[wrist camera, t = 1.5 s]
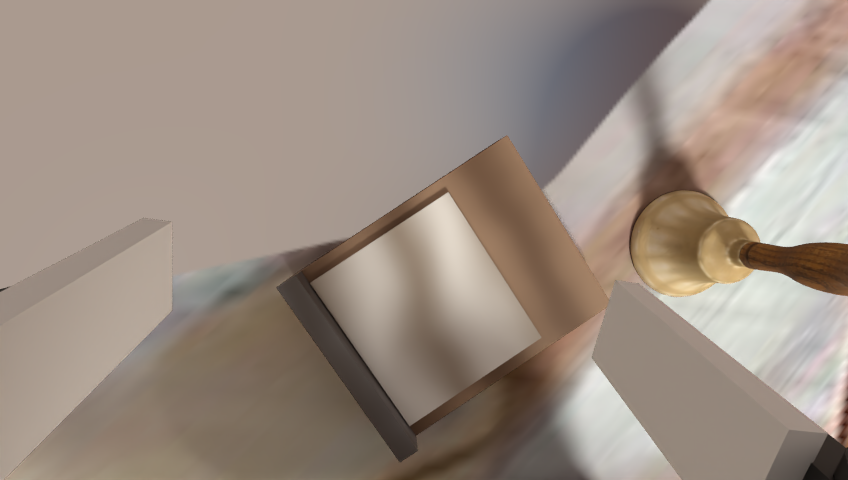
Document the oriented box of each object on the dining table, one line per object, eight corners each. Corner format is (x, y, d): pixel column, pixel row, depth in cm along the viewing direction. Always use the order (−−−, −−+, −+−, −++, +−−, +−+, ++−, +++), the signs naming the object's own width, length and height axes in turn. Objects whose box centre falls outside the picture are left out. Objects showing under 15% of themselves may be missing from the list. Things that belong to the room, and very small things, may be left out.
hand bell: (725, 298, 37) (981, 369, 21) (624, 294, 36) (810, 363, 20) (736, 193, 36) (1008, 184, 20) (634, 187, 36) (832, 172, 20)
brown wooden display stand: (497, 141, 34) (515, 130, 29) (592, 296, 36) (625, 310, 31) (292, 275, 34) (276, 287, 29) (398, 426, 35) (399, 462, 30)
